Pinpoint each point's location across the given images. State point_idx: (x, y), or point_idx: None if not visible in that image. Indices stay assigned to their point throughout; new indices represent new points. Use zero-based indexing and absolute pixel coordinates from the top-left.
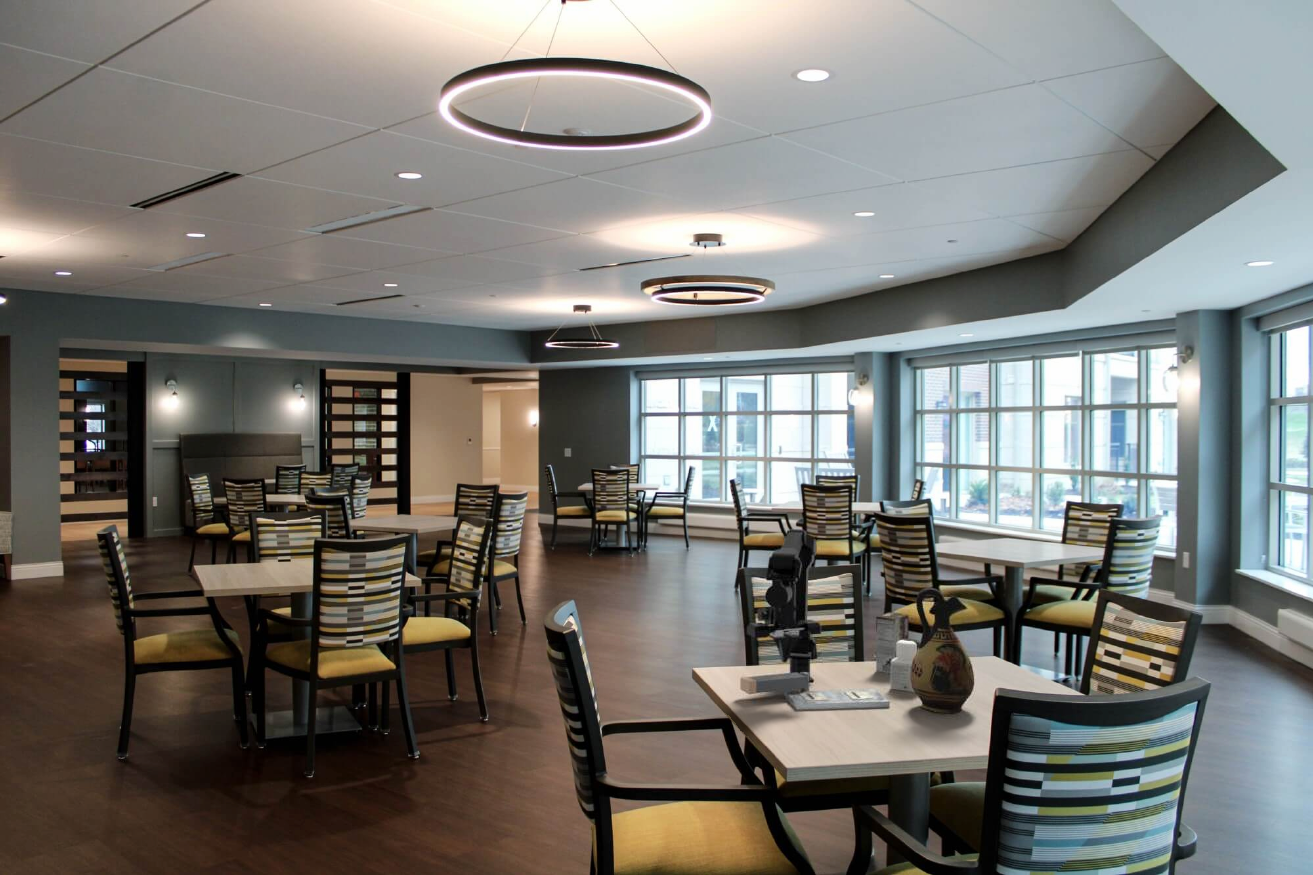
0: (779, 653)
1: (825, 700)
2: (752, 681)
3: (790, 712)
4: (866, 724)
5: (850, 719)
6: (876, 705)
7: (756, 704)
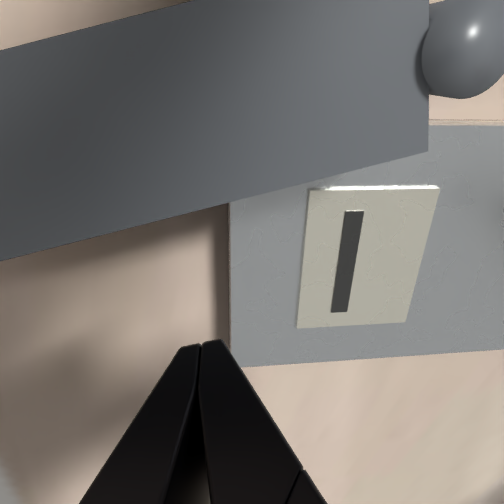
0: (128, 443)
1: (390, 320)
2: None
3: None
4: (405, 473)
5: (385, 438)
6: None
7: None
